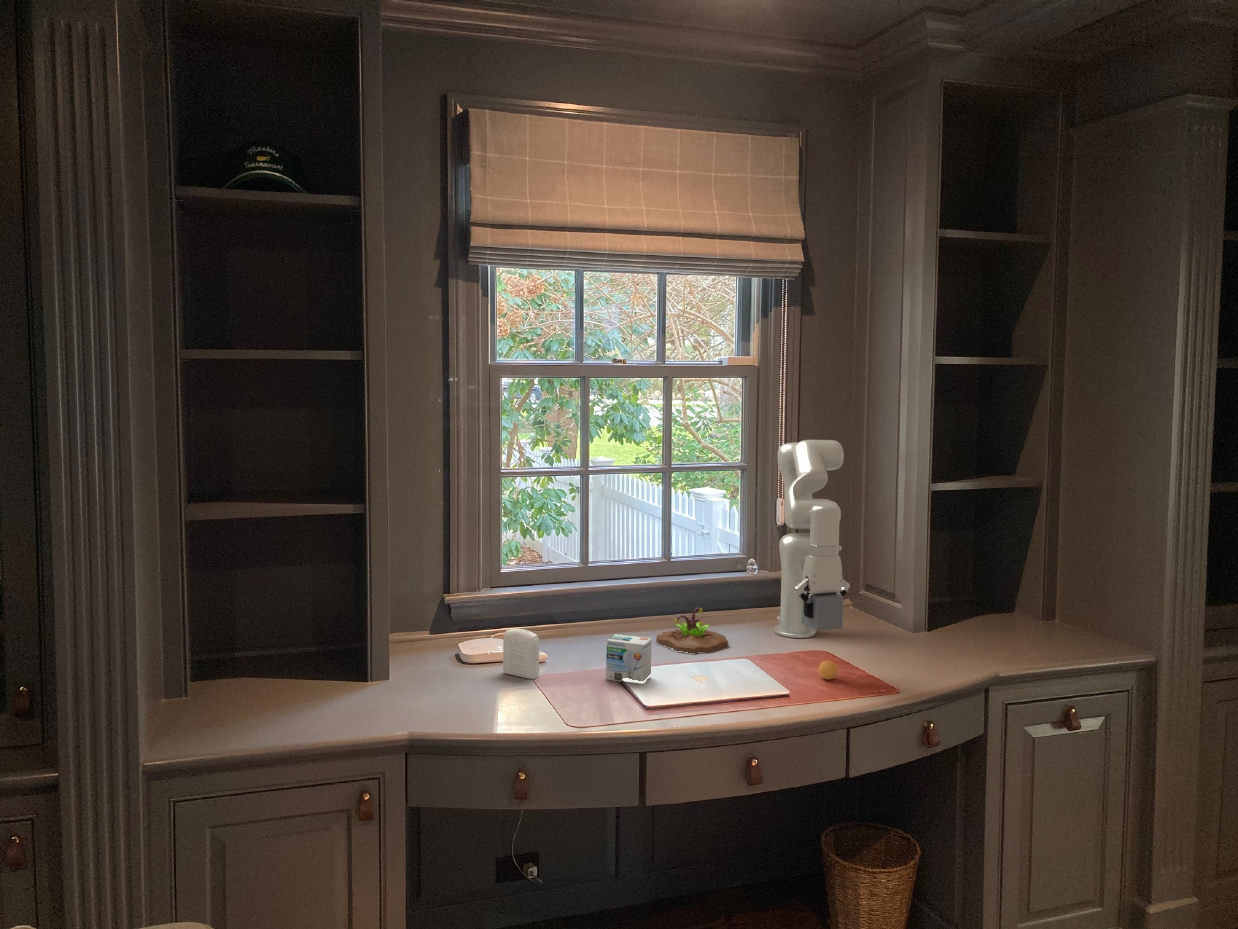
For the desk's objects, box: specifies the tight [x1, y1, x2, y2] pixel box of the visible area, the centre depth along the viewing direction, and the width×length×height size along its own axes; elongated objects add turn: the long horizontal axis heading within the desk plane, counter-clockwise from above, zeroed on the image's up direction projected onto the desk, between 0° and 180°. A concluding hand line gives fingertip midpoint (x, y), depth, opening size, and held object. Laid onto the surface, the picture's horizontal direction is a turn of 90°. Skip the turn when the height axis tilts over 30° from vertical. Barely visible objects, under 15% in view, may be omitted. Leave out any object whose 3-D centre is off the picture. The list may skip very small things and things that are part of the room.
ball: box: [818, 660, 839, 680], centre depth 243 cm, size 5×5×5 cm
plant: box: [655, 607, 729, 654], centre depth 274 cm, size 20×20×11 cm
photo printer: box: [502, 628, 540, 680], centre depth 243 cm, size 10×4×12 cm, turn 60°
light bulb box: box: [605, 633, 653, 683], centre depth 241 cm, size 11×7×11 cm, turn 70°
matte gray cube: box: [801, 591, 844, 632], centre depth 245 cm, size 8×8×9 cm
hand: (821, 615), depth 245 cm, fingers closed on matte gray cube, 7 cm apart
